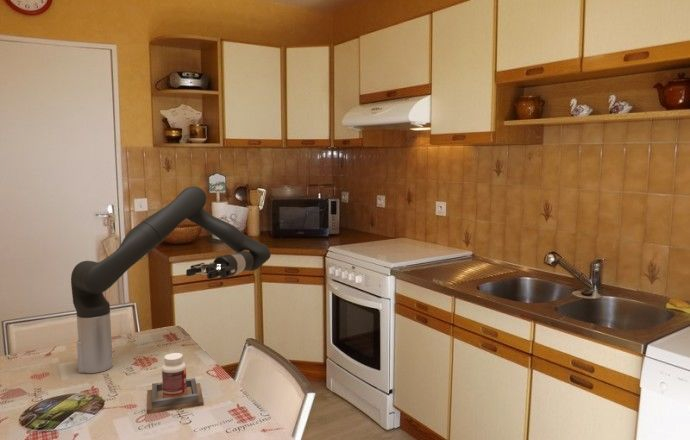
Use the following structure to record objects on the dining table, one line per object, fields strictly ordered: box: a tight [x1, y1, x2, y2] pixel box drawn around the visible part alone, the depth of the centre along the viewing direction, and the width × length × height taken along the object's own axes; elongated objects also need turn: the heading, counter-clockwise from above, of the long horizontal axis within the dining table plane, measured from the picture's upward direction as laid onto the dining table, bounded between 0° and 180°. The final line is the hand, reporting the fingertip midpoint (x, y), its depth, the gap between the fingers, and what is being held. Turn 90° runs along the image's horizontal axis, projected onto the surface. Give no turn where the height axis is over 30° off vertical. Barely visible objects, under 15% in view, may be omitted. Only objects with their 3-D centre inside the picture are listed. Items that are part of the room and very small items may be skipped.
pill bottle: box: [161, 352, 187, 398], centre depth 140 cm, size 6×6×11 cm
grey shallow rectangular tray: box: [146, 377, 205, 415], centre depth 140 cm, size 14×12×3 cm
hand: (197, 274), depth 165 cm, fingers open, 8 cm apart
